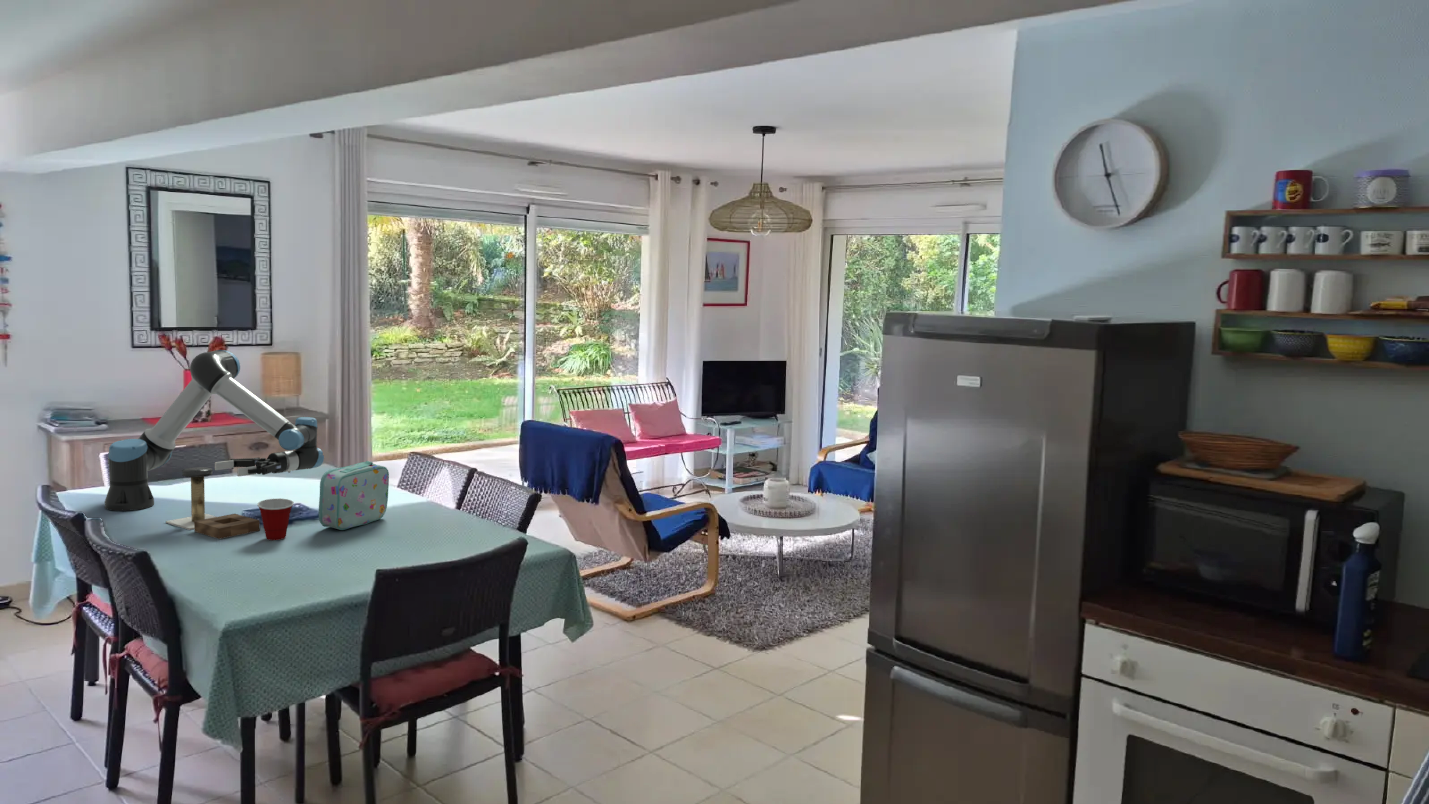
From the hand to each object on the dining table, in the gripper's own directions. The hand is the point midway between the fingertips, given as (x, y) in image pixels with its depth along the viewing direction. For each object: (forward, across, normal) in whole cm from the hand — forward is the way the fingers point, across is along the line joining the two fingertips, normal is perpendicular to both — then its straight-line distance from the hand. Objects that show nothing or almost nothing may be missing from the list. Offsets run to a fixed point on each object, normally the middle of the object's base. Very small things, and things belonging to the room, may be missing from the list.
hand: (226, 469), depth 332 cm
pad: (+10, -1, -17) cm, 20 cm away
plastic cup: (+5, -37, -16) cm, 41 cm away
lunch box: (-23, -40, -16) cm, 48 cm away
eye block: (+10, -18, -17) cm, 26 cm away
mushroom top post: (+10, -1, -16) cm, 19 cm away
